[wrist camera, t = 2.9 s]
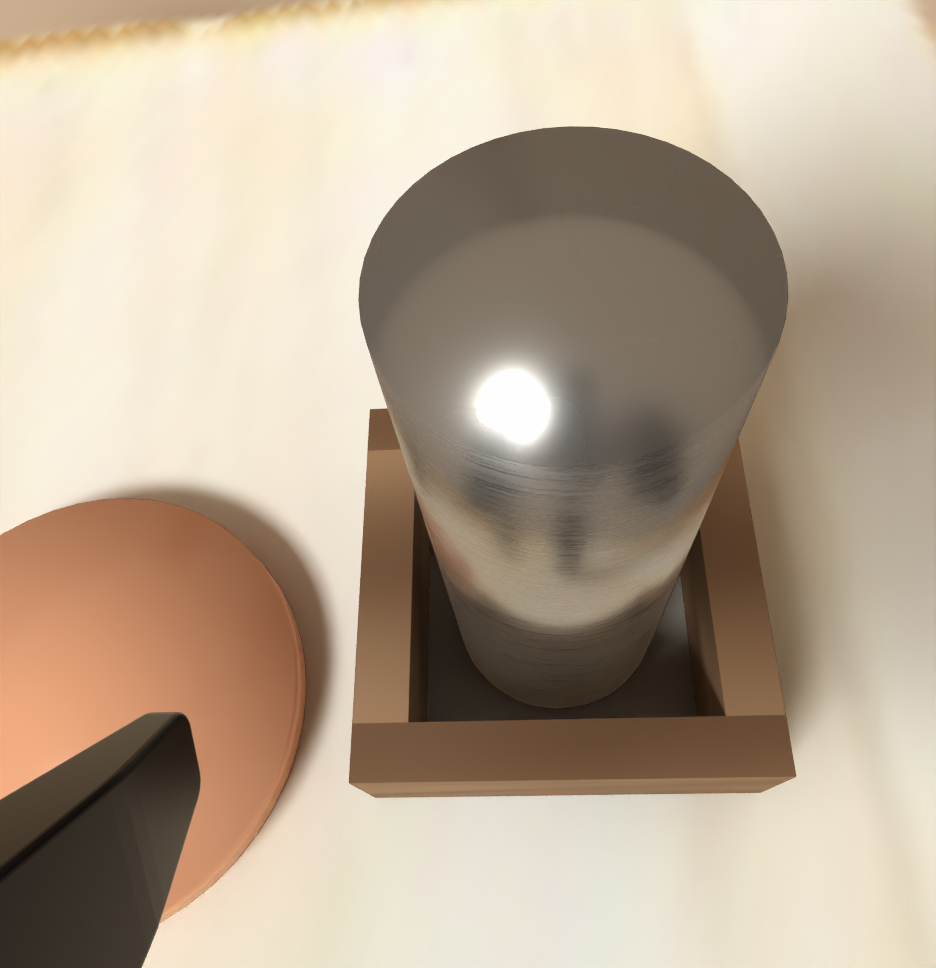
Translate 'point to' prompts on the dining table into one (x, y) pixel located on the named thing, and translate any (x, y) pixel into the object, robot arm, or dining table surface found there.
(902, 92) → the dining table surface
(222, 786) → the coaster
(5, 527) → the dining table surface
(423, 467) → the peg
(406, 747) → the pocket block
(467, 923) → the dining table surface
